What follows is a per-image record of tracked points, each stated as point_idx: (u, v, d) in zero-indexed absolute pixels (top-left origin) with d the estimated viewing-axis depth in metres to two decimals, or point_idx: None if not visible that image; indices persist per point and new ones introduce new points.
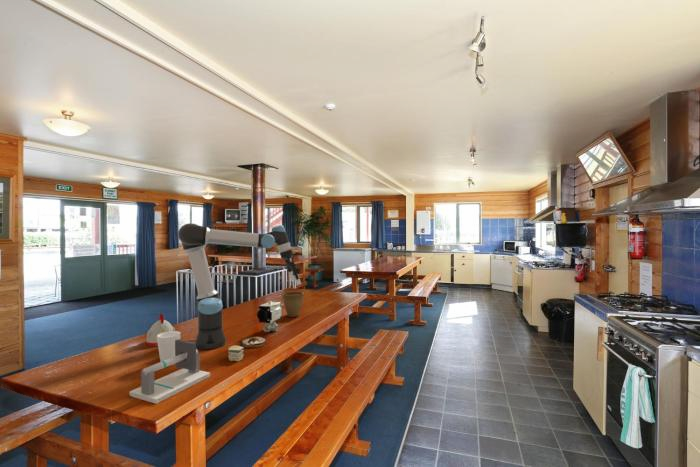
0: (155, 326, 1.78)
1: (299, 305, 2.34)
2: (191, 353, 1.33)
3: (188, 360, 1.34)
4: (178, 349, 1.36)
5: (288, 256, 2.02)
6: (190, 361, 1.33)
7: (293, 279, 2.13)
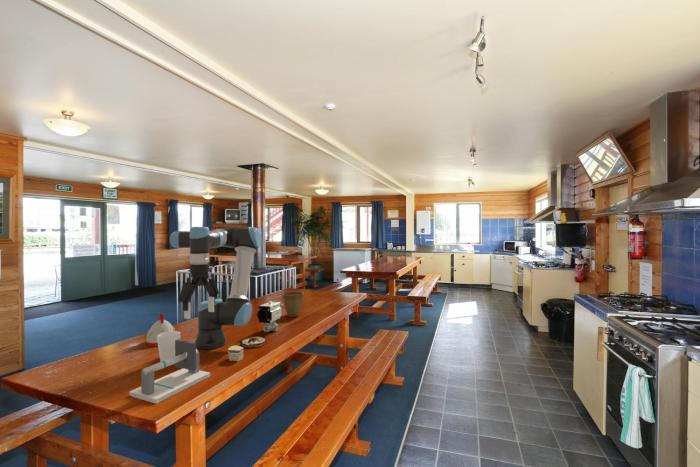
0: (155, 326, 1.78)
1: (299, 305, 2.34)
2: (191, 353, 1.33)
3: (188, 360, 1.34)
4: (178, 349, 1.36)
5: (192, 273, 1.38)
6: (190, 361, 1.33)
7: (210, 309, 1.47)
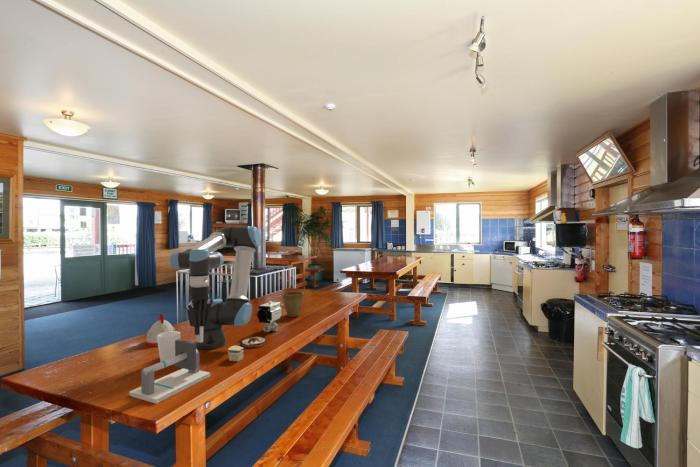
0: (155, 326, 1.78)
1: (299, 305, 2.34)
2: (191, 353, 1.33)
3: (188, 360, 1.34)
4: (178, 349, 1.36)
5: None
6: (190, 361, 1.33)
7: None
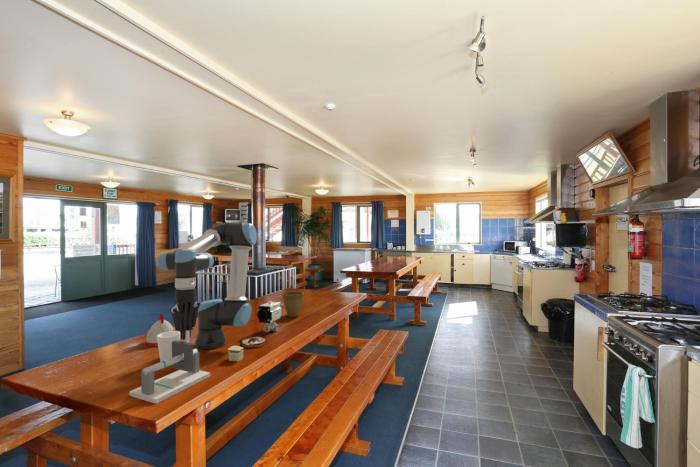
0: (155, 326, 1.78)
1: (299, 305, 2.34)
2: (188, 354, 1.32)
3: (185, 361, 1.33)
4: (175, 350, 1.35)
5: None
6: (187, 362, 1.32)
7: None
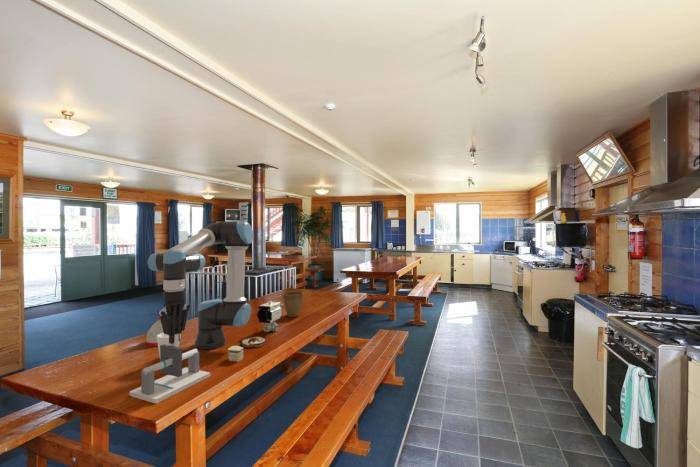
0: (155, 326, 1.78)
1: (299, 305, 2.34)
2: (177, 359, 1.27)
3: (173, 366, 1.28)
4: (163, 354, 1.30)
5: None
6: (176, 367, 1.27)
7: None
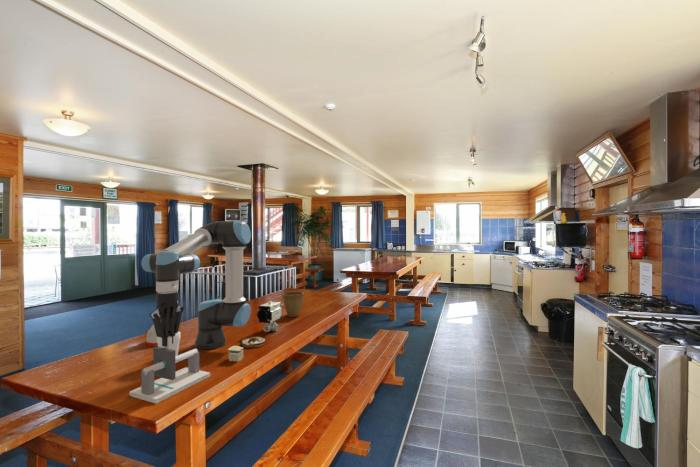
0: None
1: (299, 305, 2.34)
2: (170, 361, 1.25)
3: (167, 369, 1.25)
4: (156, 357, 1.27)
5: None
6: (169, 370, 1.25)
7: None
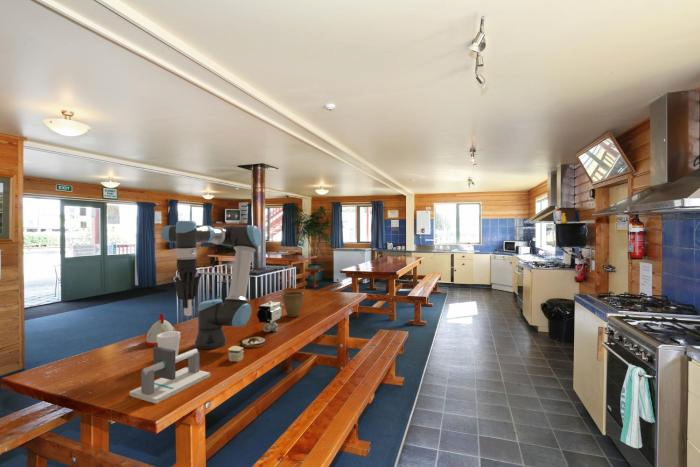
0: (155, 326, 1.78)
1: (299, 305, 2.34)
2: (170, 362, 1.25)
3: (167, 369, 1.25)
4: (156, 357, 1.27)
5: None
6: (169, 370, 1.25)
7: None
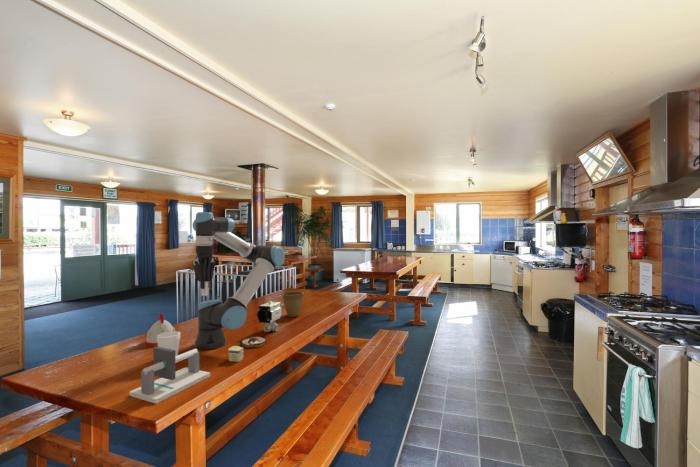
0: (155, 326, 1.78)
1: (299, 305, 2.34)
2: (170, 362, 1.25)
3: (167, 369, 1.25)
4: (156, 357, 1.27)
5: None
6: (169, 370, 1.25)
7: None
